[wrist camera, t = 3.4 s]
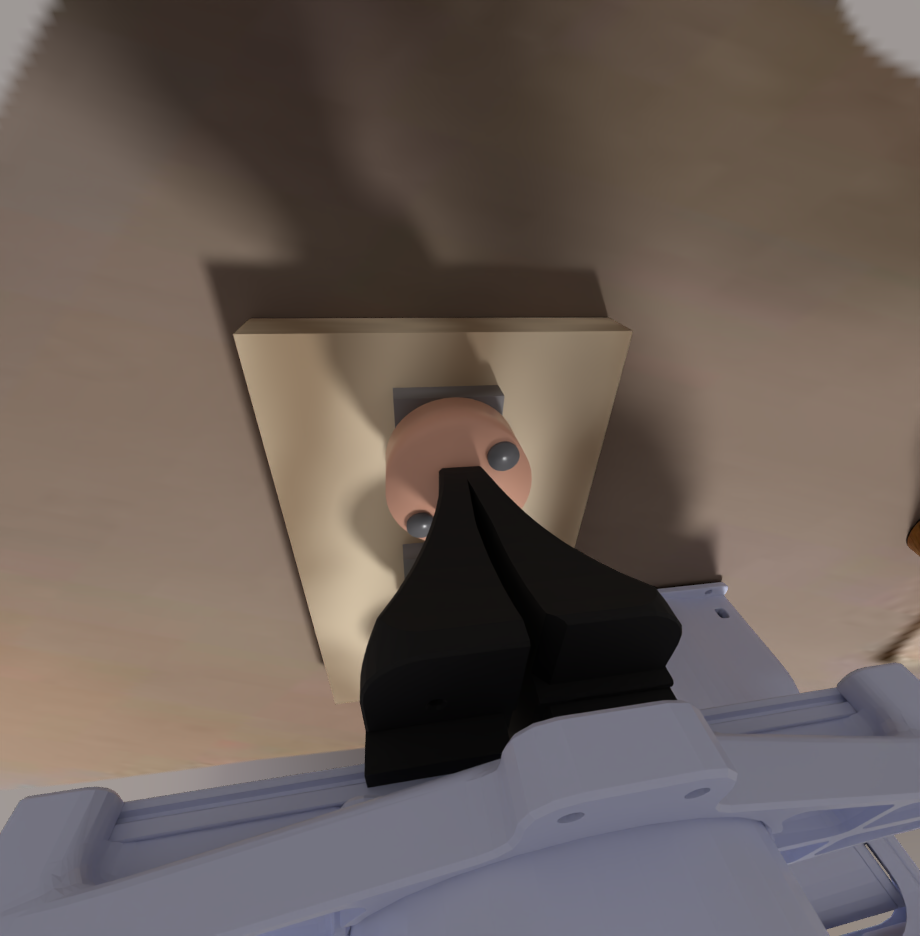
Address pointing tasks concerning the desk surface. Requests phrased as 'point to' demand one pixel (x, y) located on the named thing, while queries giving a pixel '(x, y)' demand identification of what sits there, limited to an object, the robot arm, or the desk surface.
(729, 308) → the desk surface
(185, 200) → the desk surface
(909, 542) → the disposable coffee cup
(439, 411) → the terracotta button
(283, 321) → the button panel
